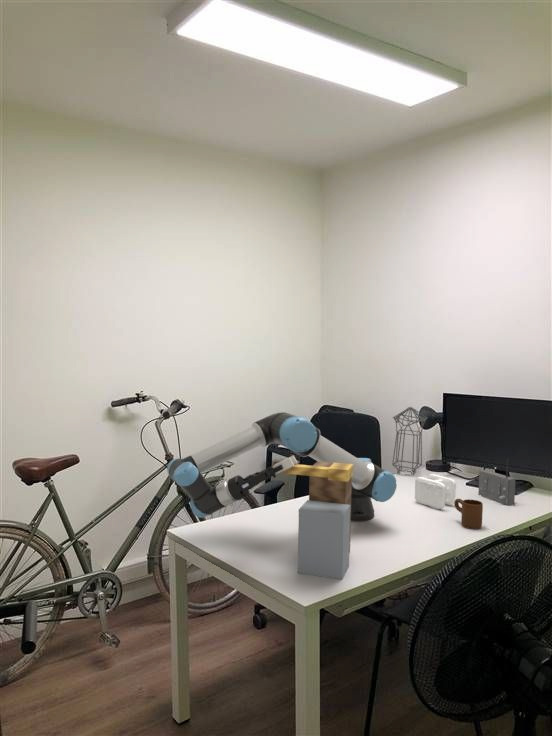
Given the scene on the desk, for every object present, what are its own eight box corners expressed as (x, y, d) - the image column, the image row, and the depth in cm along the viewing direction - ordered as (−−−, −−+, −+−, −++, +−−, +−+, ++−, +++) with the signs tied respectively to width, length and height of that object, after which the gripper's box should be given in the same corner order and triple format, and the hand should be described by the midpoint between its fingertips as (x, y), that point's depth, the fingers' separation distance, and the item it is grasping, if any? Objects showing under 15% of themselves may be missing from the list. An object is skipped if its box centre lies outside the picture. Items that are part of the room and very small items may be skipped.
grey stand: (297, 572, 179) (298, 509, 178) (306, 560, 189) (307, 500, 187) (342, 579, 175) (343, 514, 173) (348, 566, 184) (350, 504, 183)
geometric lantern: (395, 468, 313) (399, 404, 311) (425, 472, 306) (429, 407, 304) (387, 474, 299) (391, 407, 297) (418, 479, 292) (422, 410, 290)
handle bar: (271, 474, 181) (271, 463, 180) (279, 468, 188) (279, 457, 188) (347, 481, 173) (348, 470, 173) (352, 475, 181) (353, 464, 181)
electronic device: (514, 504, 252) (516, 459, 250) (503, 506, 249) (505, 460, 247) (483, 493, 267) (485, 451, 266) (473, 495, 264) (474, 452, 263)
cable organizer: (457, 507, 247) (458, 480, 246) (441, 511, 241) (442, 484, 240) (428, 498, 259) (429, 472, 258) (413, 502, 253) (413, 476, 252)
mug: (447, 521, 228) (448, 498, 228) (460, 518, 233) (461, 495, 232) (473, 530, 218) (474, 506, 218) (486, 527, 223) (487, 503, 222)
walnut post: (307, 558, 191) (309, 468, 188) (315, 547, 200) (317, 461, 198) (343, 563, 187) (346, 471, 185) (349, 551, 196) (352, 464, 194)
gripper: (247, 494, 197) (305, 465, 190) (228, 507, 182) (291, 477, 174) (237, 474, 198) (295, 445, 190) (217, 486, 182) (280, 455, 175)
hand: (293, 460), depth 182 cm, fingers closed on handle bar, 3 cm apart
